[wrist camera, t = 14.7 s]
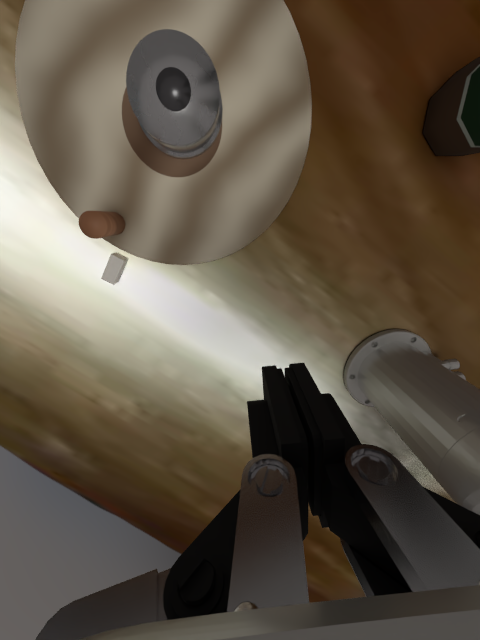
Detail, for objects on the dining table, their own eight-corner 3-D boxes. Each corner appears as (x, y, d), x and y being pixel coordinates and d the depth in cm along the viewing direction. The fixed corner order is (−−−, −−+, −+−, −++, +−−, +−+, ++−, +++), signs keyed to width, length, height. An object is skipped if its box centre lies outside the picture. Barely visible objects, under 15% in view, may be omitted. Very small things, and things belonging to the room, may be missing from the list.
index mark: (115, 252, 29) (111, 254, 28) (128, 258, 29) (124, 260, 28) (106, 275, 30) (101, 278, 28) (118, 281, 30) (113, 284, 29)
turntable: (359, 104, 26) (403, 69, 20) (208, 305, 32) (206, 325, 26) (117, -186, 18) (69, -383, 12) (-19, 151, 25) (-95, 130, 19)
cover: (239, 112, 24) (244, 92, 20) (184, 177, 26) (179, 170, 22) (175, 31, 22) (166, -11, 18) (119, 108, 23) (99, 85, 19)
